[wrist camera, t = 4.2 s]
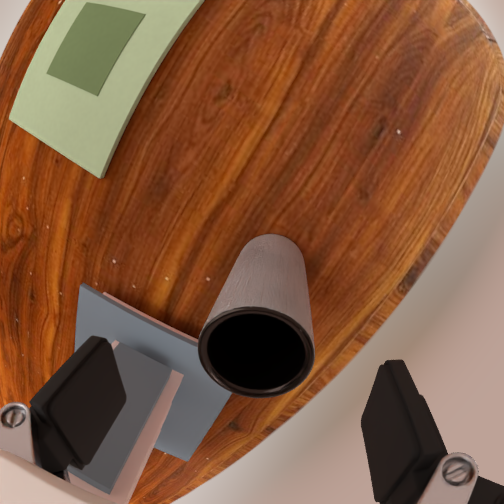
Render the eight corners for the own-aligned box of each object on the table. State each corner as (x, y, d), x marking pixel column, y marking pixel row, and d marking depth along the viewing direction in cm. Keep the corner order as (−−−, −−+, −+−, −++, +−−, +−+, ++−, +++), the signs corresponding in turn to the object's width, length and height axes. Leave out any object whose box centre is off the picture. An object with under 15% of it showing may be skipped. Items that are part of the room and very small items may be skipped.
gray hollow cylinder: (269, 306, 22) (252, 413, 12) (225, 262, 21) (173, 349, 11) (318, 268, 20) (338, 363, 10) (273, 219, 20) (257, 281, 10)
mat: (101, -42, 13) (98, -45, 13) (224, -24, 14) (222, -28, 14) (12, 119, 19) (7, 118, 19) (103, 178, 20) (98, 178, 19)
